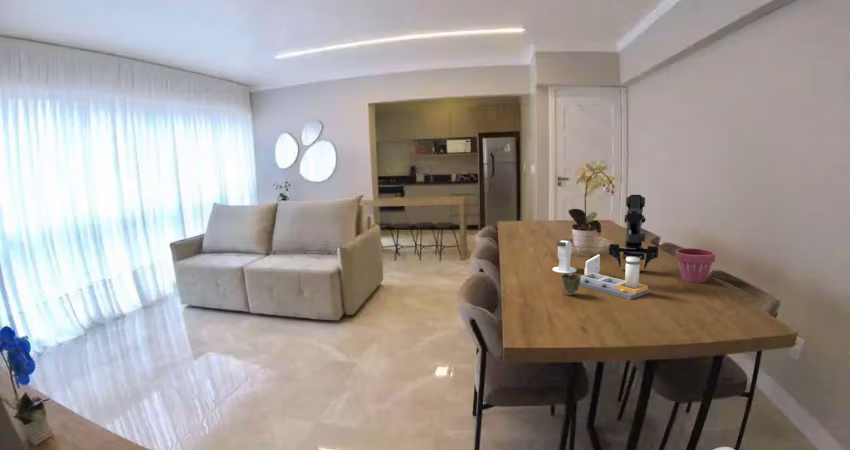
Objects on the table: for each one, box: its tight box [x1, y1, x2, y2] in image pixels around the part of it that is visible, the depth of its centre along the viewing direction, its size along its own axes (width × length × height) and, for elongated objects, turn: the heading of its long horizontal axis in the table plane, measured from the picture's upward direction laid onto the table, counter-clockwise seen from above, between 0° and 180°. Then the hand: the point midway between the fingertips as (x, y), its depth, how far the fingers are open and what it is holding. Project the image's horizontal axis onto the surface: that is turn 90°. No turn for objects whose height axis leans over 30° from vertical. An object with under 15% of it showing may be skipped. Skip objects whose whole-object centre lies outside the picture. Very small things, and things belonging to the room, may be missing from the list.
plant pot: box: [675, 247, 716, 284], centre depth 180 cm, size 14×14×13 cm
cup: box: [560, 273, 582, 296], centre depth 167 cm, size 8×7×8 cm
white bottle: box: [624, 257, 641, 289], centre depth 166 cm, size 5×5×13 cm
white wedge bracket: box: [583, 254, 601, 275], centre depth 193 cm, size 4×10×9 cm, turn 84°
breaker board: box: [579, 273, 650, 301], centre depth 173 cm, size 13×26×3 cm, turn 32°
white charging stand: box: [552, 238, 577, 274], centre depth 203 cm, size 12×11×15 cm
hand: (632, 267), depth 171 cm, fingers open, 9 cm apart
